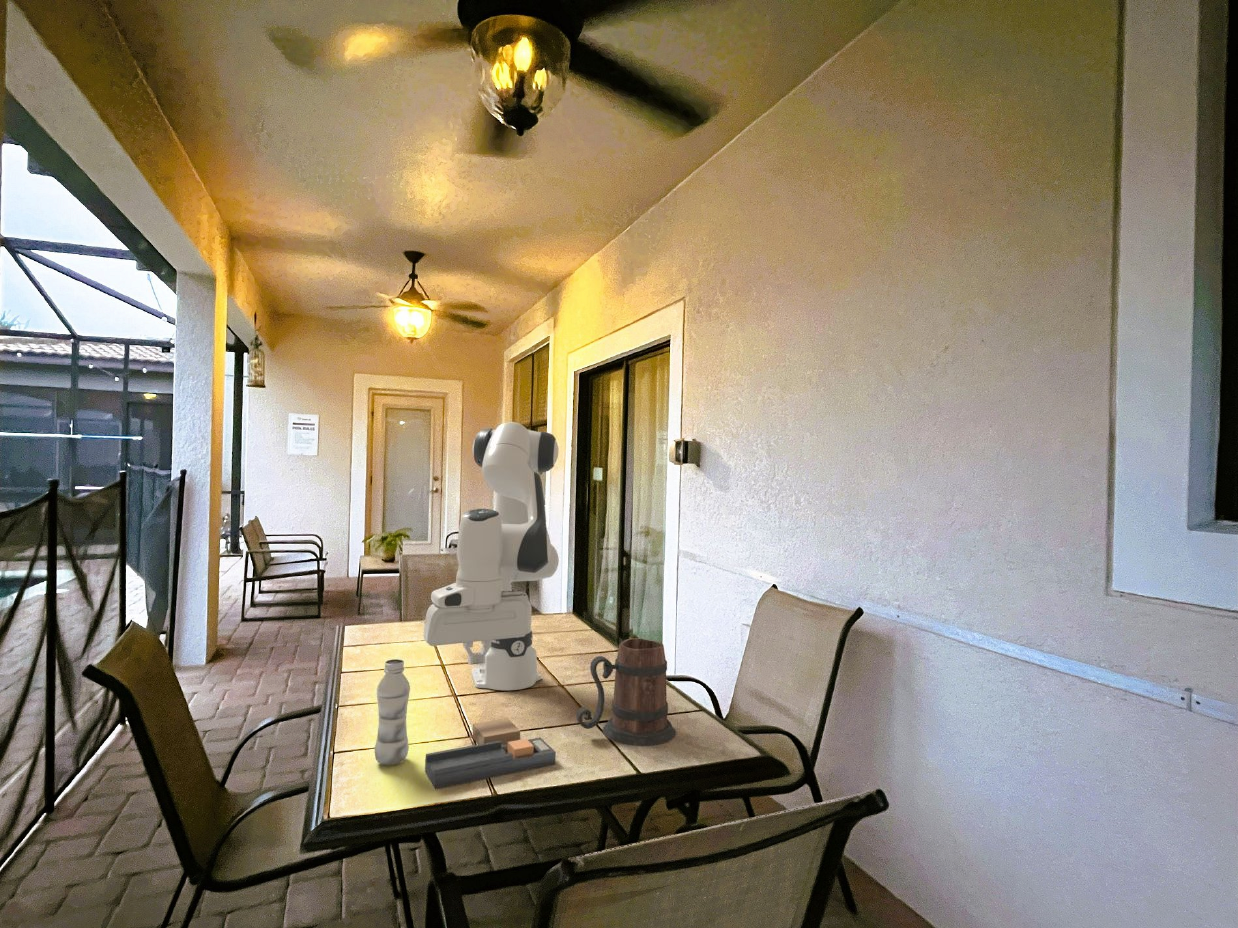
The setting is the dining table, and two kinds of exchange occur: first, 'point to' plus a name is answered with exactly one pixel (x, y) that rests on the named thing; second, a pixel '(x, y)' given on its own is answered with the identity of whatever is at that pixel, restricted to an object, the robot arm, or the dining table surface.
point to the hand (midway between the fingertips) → (476, 663)
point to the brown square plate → (495, 731)
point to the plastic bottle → (392, 714)
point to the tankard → (634, 695)
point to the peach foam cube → (520, 748)
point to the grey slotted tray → (483, 762)
